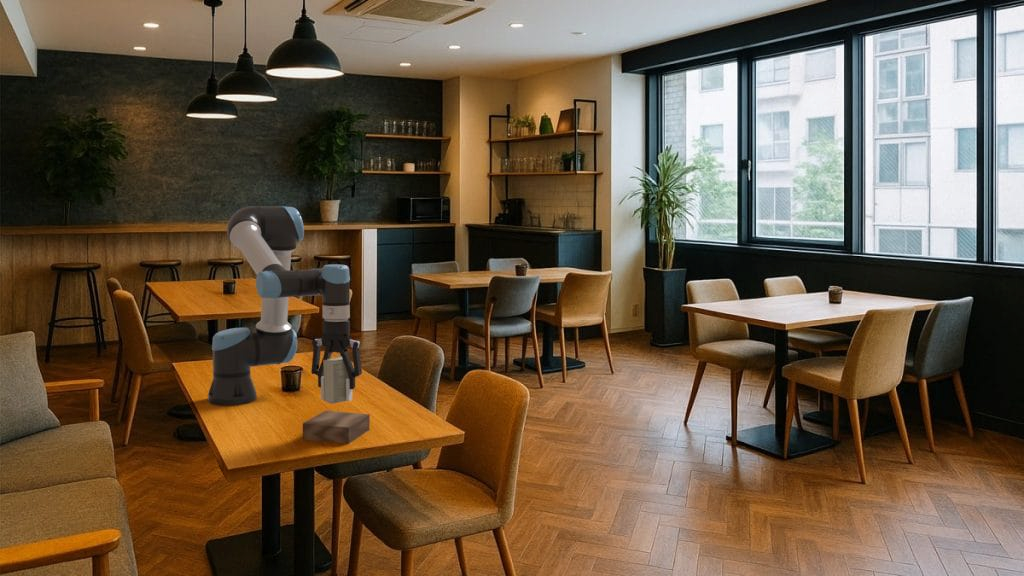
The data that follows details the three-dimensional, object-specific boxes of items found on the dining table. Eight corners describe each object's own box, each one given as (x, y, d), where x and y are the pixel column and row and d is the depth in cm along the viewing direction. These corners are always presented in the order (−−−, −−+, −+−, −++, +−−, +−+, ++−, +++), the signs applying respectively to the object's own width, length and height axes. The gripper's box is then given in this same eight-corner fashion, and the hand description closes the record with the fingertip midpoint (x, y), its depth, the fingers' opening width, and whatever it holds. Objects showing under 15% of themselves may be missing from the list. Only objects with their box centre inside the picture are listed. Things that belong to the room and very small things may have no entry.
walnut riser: (302, 440, 225) (302, 423, 225) (325, 427, 239) (325, 410, 238) (348, 445, 222) (348, 427, 222) (369, 431, 236) (369, 414, 235)
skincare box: (342, 397, 233) (341, 356, 232) (350, 400, 230) (350, 358, 229) (323, 401, 229) (322, 359, 227) (331, 404, 226) (330, 361, 224)
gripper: (297, 319, 225) (298, 400, 227) (364, 323, 221) (365, 404, 224) (308, 316, 232) (309, 394, 235) (374, 319, 229) (374, 398, 231)
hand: (336, 399), depth 229 cm, fingers closed on skincare box, 7 cm apart
